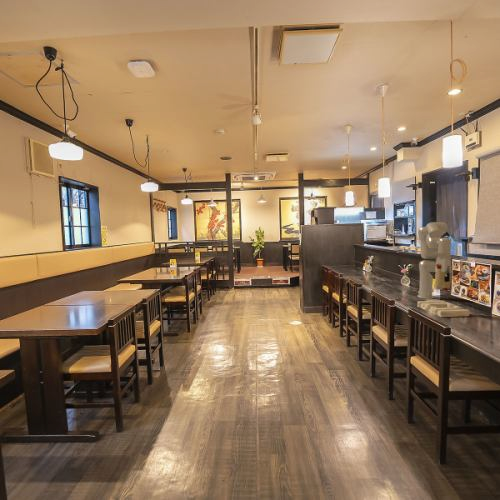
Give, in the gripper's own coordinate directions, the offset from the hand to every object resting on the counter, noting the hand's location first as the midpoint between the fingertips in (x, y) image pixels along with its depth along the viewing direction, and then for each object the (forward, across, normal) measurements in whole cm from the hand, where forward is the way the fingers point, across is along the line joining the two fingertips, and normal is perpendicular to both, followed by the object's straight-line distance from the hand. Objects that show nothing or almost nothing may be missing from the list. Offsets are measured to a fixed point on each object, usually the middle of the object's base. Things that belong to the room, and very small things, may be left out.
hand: (443, 280), depth 217 cm
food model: (+7, 0, 0) cm, 7 cm away
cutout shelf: (+22, 0, 0) cm, 22 cm away
